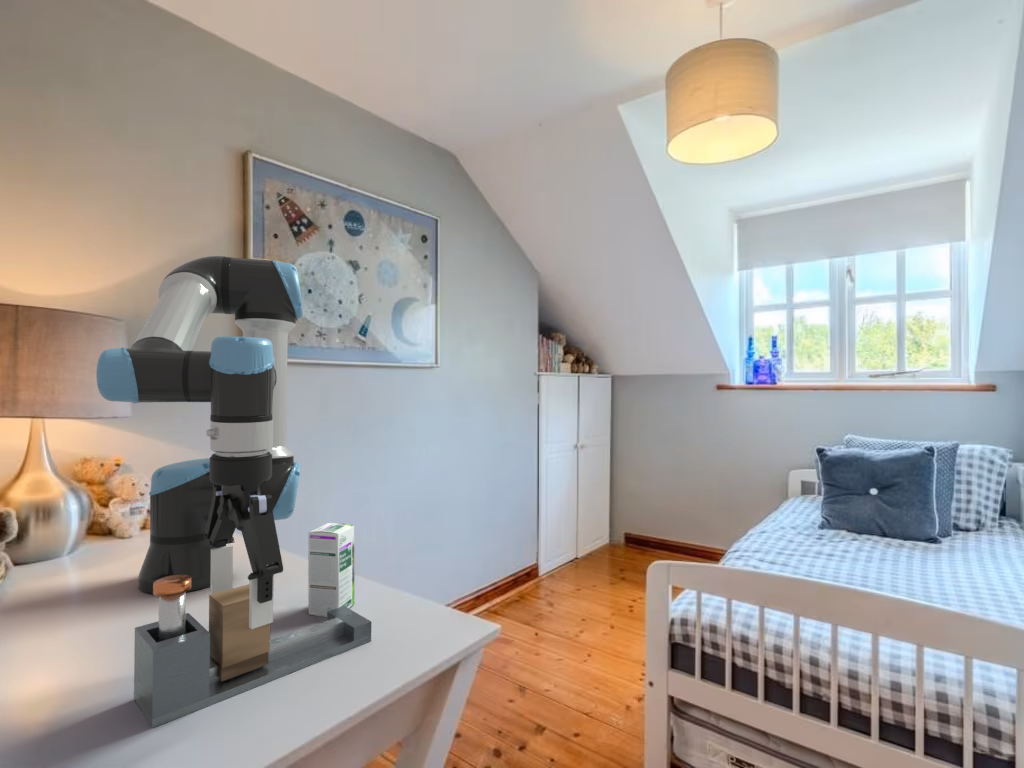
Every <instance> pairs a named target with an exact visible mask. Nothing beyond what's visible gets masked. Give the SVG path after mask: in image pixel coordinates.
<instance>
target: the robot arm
mask: <svg viewBox="0 0 1024 768" xmlns="http://www.w3.org/2000/svg"><path fill="white" fill-rule="evenodd" d="M298 272H299V271H298V268H297V267H296V266H295V265H294V264H293V263H291V262H290V263H289V262H283V261H278V260H274V259H272V260H270V259H257V258H243V257H229V256H222V255H212V256H211V255H210V256H204V257H203V256H202V257H199V258H195V259H194V260H193V259H192V260H190V261H188V262H185V263H183V264H181V265H179V266H178V267H177V266H176V267H175V268H174V269H173V270H171V271H170V272H169V273H168V274H167V275H166V276H165V277H164V278H163V280H162V281H161V282H160V285H159V288H158V298H159V300H158V301H157V303H156V304H155V306H154V308H153V309H152V311H151V313H150V316H149V317H148V318H147V320H146V322H145V323H144V326H143V327H142V329H141V330H140V332H139V334H138V336H137V337H136V339H135V341H134V343H133V344H132V345H131V347H130V348H127V347H124V346H123V347H119V348H118V347H117V348H114V347H113V348H108V349H105V350H103V351H102V352H101V353H100V355H99V357H98V360H97V364H96V370H95V371H96V372H95V373H96V374H95V375H96V383H97V388H98V389H97V390H98V391H99V394H100V396H101V397H102V398H103V399H105V400H106V401H109V402H120V403H121V402H122V403H132V404H138V403H210V417H209V418H210V419H209V420H210V424H209V426H210V429H207V430H206V431H205V434H206V436H207V437H209V438H210V439H209V440H210V441H209V442H210V443H209V447H210V450H211V451H212V452H213V453H212V455H211V456H210V457H207V458H204V457H203V458H198V459H191V460H186V461H180V462H175V463H170V464H167V465H163V466H161V467H159V468H158V469H156V470H154V472H153V473H152V475H151V478H150V479H151V480H150V481H151V482H150V491H149V492H148V493H149V494H148V495H149V497H150V498H149V500H150V502H149V503H150V504H149V509H150V511H149V514H150V515H149V524H150V525H149V538H150V539H149V546H148V549H147V552H146V555H145V558H144V560H143V562H142V565H141V568H140V570H139V573H138V583H137V584H138V589H139V590H140V591H141V592H144V593H147V594H152V595H153V583H154V582H155V581H156V580H158V579H160V578H163V577H167V576H172V575H189V576H191V589H190V590H189V591H187V592H186V593H188V592H193V591H196V590H197V591H198V590H201V589H204V588H208V587H210V589H209V590H210V592H209V593H210V594H214V593H217V592H221V591H225V590H229V589H233V579H234V578H233V576H234V575H233V569H234V567H233V564H234V563H233V561H234V559H233V558H234V557H233V556H234V554H233V553H234V550H233V549H234V546H233V545H232V544H234V543H235V542H236V541H235V537H234V533H235V531H236V530H237V531H240V532H241V534H242V535H241V536H242V538H243V542H244V545H245V549H246V553H247V555H248V561H249V563H250V568H251V571H252V572H250V573H249V574H248V576H247V579H248V581H249V628H250V629H254V628H257V627H260V626H263V625H266V624H269V623H270V624H271V623H274V591H275V589H274V582H275V581H274V578H275V577H274V575H277V574H281V573H283V572H284V566H283V565H284V564H283V559H282V554H281V550H280V544H279V543H280V542H279V539H278V533H277V529H276V528H277V527H276V526H277V525H276V523H275V521H280V520H286V519H288V518H291V517H292V516H293V514H294V511H295V507H296V500H297V494H298V489H299V488H298V487H299V481H300V474H301V466H302V464H301V463H300V462H298V461H295V462H294V460H295V459H294V456H295V455H294V453H293V452H292V451H291V450H290V449H289V448H288V447H287V416H288V415H287V414H288V412H287V404H288V401H287V400H288V343H289V342H288V341H289V340H288V338H289V336H288V335H289V333H290V332H291V331H292V330H294V328H296V326H297V325H296V323H297V321H296V319H297V320H299V319H302V318H303V316H304V315H303V313H304V311H303V303H302V302H303V301H302V294H301V285H300V284H301V283H300V279H299V273H298ZM211 314H222V315H223V314H225V315H234V324H235V325H236V326H237V327H238V328H239V329H240V330H241V331H242V336H234V335H233V336H231V335H230V336H229V335H225V336H217V337H214V339H213V340H212V341H211V348H210V350H209V351H206V350H193V349H194V346H195V344H196V341H197V340H198V337H199V333H200V330H201V328H202V326H203V324H204V320H205V319H206V318H207V317H209V316H210V315H211ZM214 452H215V453H214ZM228 544H229V545H228ZM210 594H209V595H210Z"/></svg>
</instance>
